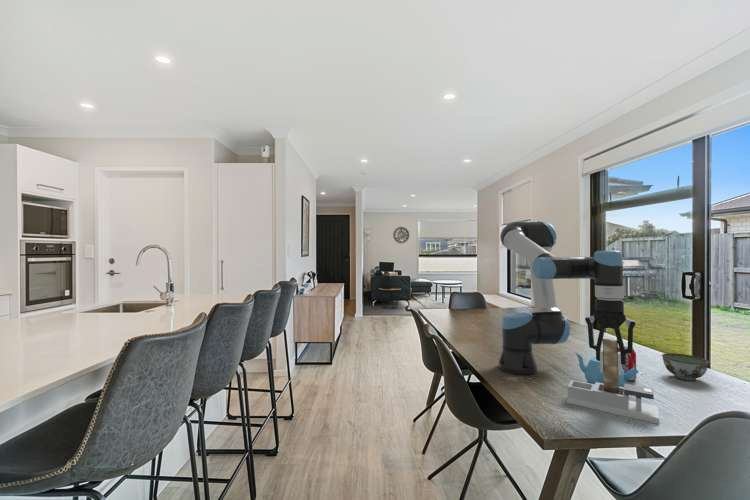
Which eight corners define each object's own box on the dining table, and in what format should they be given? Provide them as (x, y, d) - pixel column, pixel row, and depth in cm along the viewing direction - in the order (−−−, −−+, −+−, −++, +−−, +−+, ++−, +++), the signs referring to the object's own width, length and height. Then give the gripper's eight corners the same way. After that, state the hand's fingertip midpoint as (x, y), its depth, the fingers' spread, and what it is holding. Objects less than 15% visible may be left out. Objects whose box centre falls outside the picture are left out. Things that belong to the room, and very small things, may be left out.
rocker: (624, 393, 104) (623, 388, 104) (624, 387, 109) (624, 382, 109) (653, 399, 100) (653, 394, 100) (653, 393, 105) (652, 387, 105)
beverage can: (640, 382, 129) (639, 350, 130) (621, 381, 131) (620, 349, 131) (631, 376, 136) (630, 346, 136) (613, 375, 137) (612, 345, 137)
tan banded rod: (603, 391, 108) (601, 340, 109) (604, 387, 112) (602, 337, 112) (619, 394, 106) (617, 342, 106) (619, 390, 109) (618, 339, 109)
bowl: (660, 378, 133) (660, 358, 133) (663, 370, 143) (662, 351, 143) (710, 387, 124) (709, 365, 124) (708, 378, 133) (708, 357, 133)
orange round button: (601, 396, 109) (601, 391, 109) (602, 391, 112) (602, 387, 112) (619, 399, 106) (619, 395, 106) (620, 394, 109) (620, 390, 109)
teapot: (595, 394, 118) (594, 361, 119) (573, 380, 132) (573, 350, 132) (640, 394, 118) (639, 362, 118) (613, 380, 132) (613, 350, 132)
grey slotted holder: (567, 402, 112) (566, 386, 112) (572, 393, 120) (571, 377, 120) (659, 423, 98) (658, 404, 98) (657, 411, 106) (657, 393, 106)
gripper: (576, 298, 112) (578, 370, 111) (642, 302, 101) (645, 381, 101) (579, 296, 118) (581, 364, 117) (642, 299, 107) (644, 374, 107)
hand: (610, 372), depth 109 cm, fingers closed on tan banded rod, 4 cm apart
